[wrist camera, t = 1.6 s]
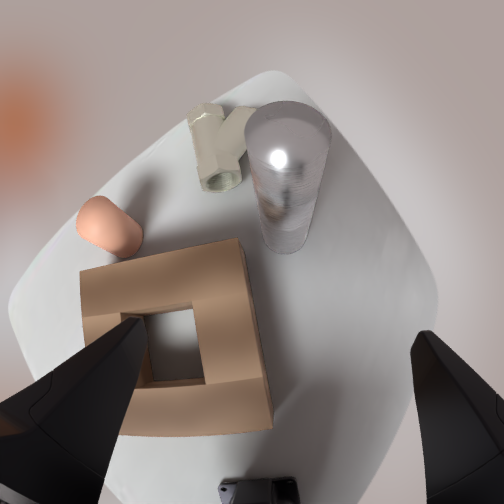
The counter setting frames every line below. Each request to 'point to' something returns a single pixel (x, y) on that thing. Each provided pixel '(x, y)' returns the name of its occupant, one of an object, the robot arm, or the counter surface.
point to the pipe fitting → (218, 144)
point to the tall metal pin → (286, 169)
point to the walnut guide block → (208, 332)
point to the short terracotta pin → (109, 227)
